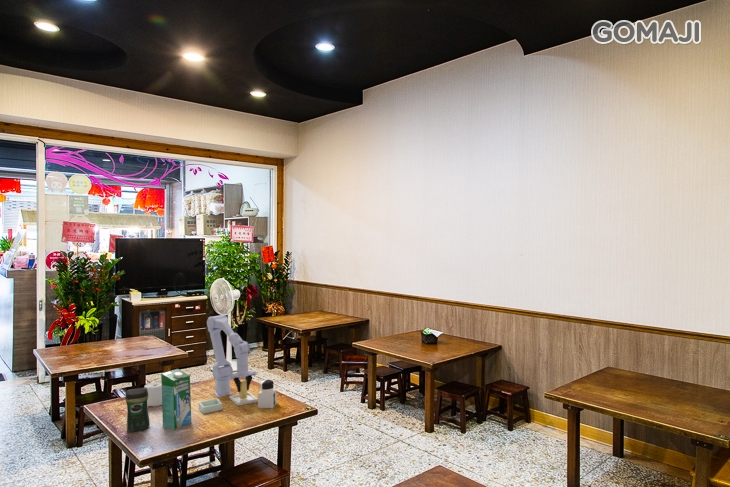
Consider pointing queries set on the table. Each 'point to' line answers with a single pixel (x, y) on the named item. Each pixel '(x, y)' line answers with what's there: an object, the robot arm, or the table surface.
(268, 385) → the container
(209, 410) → the square storage bin
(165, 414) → the milk carton
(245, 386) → the peg
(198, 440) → the table surface
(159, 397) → the toilet tissue
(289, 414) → the table surface
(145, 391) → the coffee jar
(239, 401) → the tray
